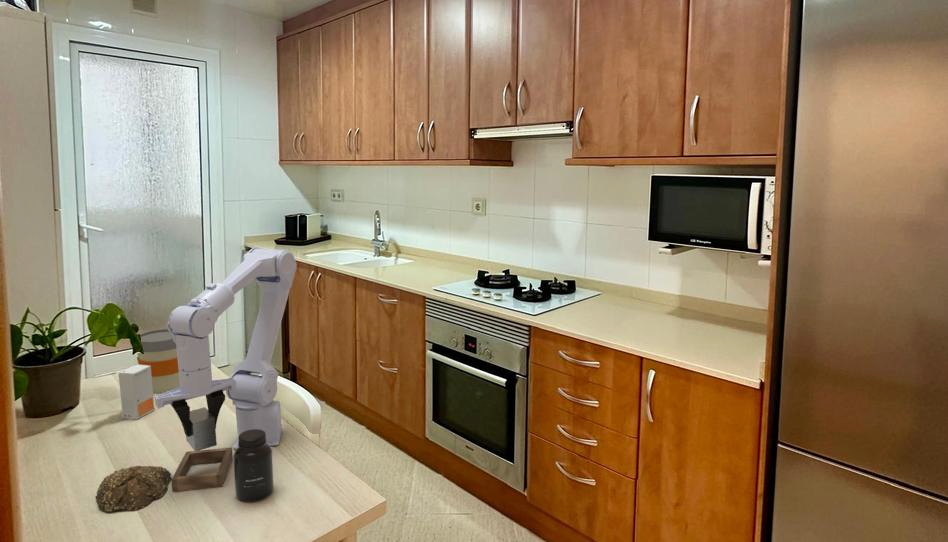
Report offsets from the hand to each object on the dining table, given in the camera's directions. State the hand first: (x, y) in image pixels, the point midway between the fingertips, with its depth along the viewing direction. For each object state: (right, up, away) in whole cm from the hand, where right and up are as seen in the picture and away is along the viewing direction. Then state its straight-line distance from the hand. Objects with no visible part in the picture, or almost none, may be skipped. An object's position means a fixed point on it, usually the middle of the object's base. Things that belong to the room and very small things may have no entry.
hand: (200, 431), depth 114 cm
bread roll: (-10, -11, -5) cm, 16 cm away
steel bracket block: (0, -2, 0) cm, 2 cm away
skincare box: (-29, -4, +28) cm, 41 cm away
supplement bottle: (+13, -11, -4) cm, 17 cm away
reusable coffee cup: (-32, -1, +46) cm, 56 cm away
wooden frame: (0, -9, +2) cm, 9 cm away
